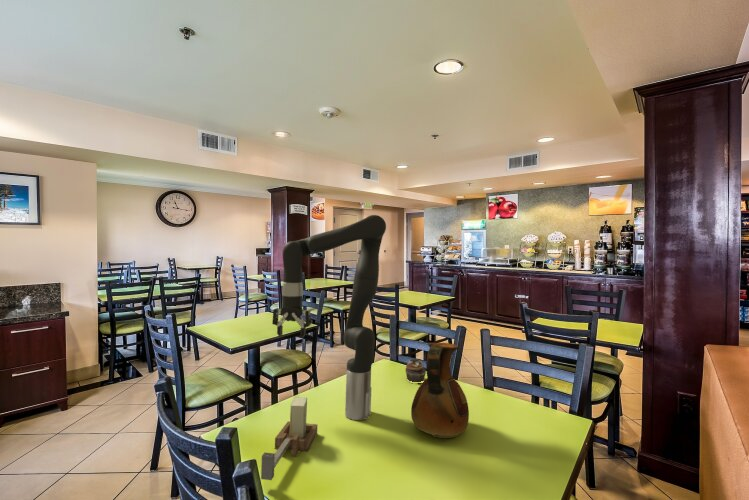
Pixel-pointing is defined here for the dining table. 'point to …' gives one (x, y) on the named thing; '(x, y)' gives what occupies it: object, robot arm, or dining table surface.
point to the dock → (297, 438)
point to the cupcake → (415, 370)
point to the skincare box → (298, 417)
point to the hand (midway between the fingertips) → (291, 336)
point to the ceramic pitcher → (440, 396)
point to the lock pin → (272, 460)
